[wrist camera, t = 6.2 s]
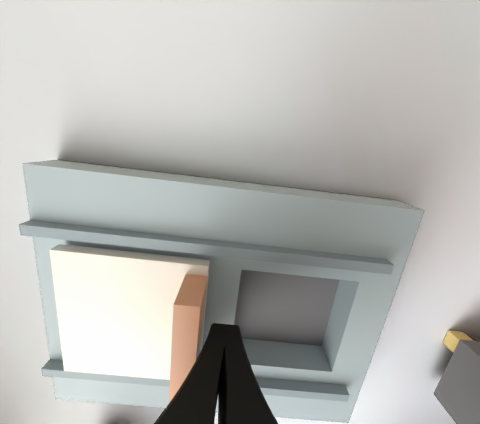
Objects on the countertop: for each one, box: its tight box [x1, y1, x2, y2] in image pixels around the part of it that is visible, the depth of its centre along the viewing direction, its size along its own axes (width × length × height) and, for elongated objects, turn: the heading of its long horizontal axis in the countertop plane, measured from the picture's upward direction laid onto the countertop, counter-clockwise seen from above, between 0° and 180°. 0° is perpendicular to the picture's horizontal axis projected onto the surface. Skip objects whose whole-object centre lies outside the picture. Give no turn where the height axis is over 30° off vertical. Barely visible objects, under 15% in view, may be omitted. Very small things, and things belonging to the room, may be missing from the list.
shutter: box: [49, 244, 210, 403], centre depth 11 cm, size 7×7×3 cm
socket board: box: [19, 160, 424, 423], centre depth 13 cm, size 14×18×3 cm
